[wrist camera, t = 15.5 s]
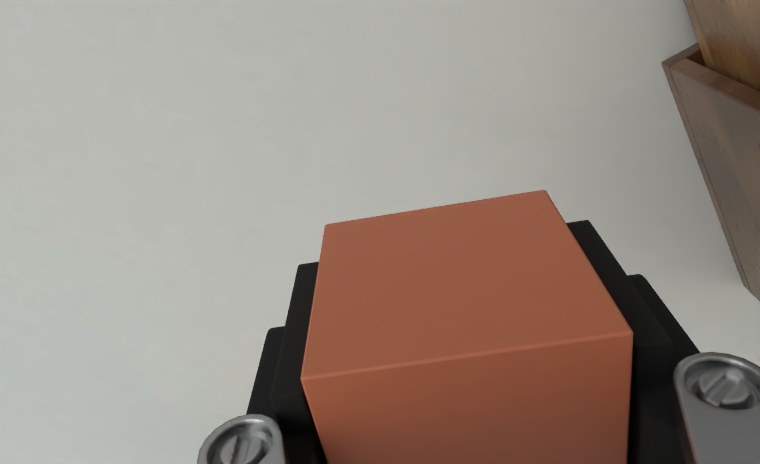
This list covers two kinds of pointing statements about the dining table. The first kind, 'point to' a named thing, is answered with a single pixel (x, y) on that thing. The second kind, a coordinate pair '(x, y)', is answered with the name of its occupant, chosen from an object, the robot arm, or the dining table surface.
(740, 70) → the drawer
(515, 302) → the block
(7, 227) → the dining table surface
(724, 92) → the cabinet
